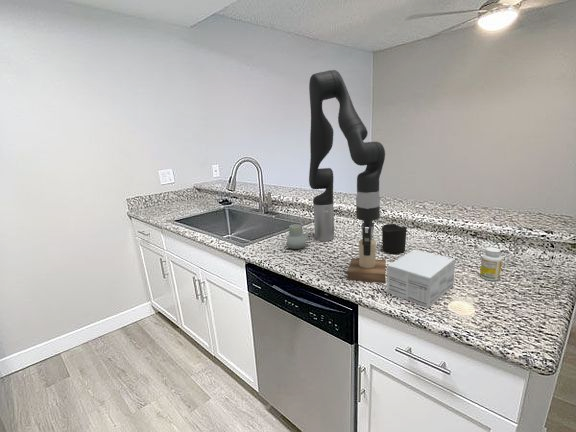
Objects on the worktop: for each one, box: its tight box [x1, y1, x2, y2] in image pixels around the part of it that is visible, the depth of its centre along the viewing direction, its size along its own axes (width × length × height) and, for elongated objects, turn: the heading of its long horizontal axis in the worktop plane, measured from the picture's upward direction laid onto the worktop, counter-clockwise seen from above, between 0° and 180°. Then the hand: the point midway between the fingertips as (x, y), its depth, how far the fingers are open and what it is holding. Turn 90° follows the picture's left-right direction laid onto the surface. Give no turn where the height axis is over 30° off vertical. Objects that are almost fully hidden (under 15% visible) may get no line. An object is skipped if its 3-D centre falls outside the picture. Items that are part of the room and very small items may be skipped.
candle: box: [358, 238, 377, 268], centre depth 104 cm, size 6×6×10 cm
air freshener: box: [286, 223, 307, 250], centre depth 135 cm, size 11×8×10 cm
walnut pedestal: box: [347, 257, 387, 284], centre depth 106 cm, size 12×12×3 cm
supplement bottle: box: [479, 246, 503, 282], centre depth 97 cm, size 5×5×10 cm
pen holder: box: [381, 223, 408, 255], centre depth 124 cm, size 9×9×10 cm
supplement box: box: [386, 249, 456, 308], centre depth 92 cm, size 17×13×9 cm
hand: (367, 250), depth 104 cm, fingers open, 8 cm apart
